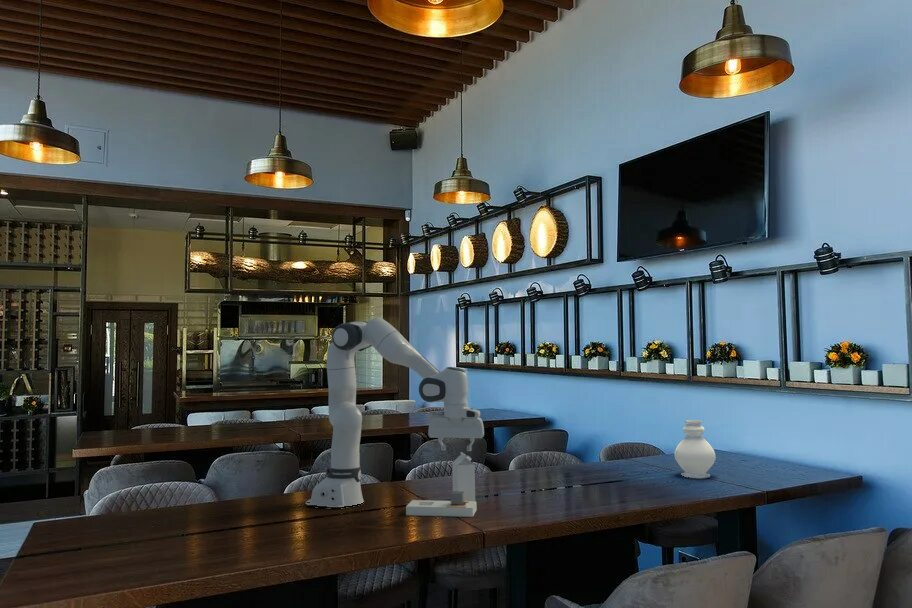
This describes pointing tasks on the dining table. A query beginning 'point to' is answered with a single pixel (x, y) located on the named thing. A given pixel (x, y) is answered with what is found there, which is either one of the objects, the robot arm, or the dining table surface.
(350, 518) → the dining table surface
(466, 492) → the milk carton
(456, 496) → the dark gray block
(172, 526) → the dining table surface
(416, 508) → the socket rail
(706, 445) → the decorative vase
